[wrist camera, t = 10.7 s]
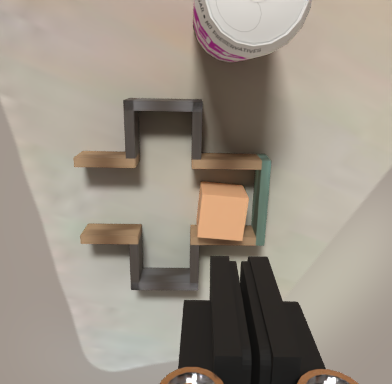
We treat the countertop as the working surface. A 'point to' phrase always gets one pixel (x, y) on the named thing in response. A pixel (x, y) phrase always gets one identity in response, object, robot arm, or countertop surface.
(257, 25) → the supplement can
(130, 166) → the trap channel
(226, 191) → the block
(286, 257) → the countertop surface
